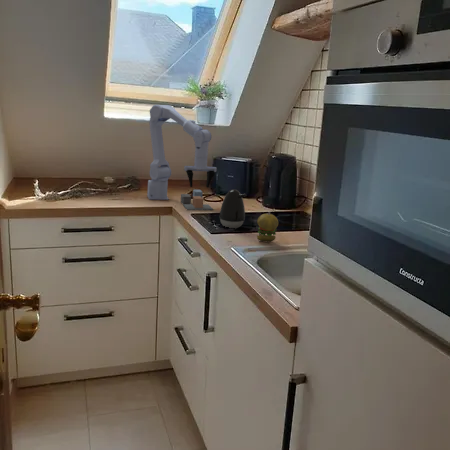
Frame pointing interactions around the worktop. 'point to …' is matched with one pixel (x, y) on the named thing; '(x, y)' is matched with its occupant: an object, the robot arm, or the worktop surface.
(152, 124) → the robot arm
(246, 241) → the worktop surface
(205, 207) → the slate mat
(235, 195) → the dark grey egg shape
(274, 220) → the hamburger
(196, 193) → the dusty-blue brick
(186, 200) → the charcoal brick
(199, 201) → the terracotta brick
